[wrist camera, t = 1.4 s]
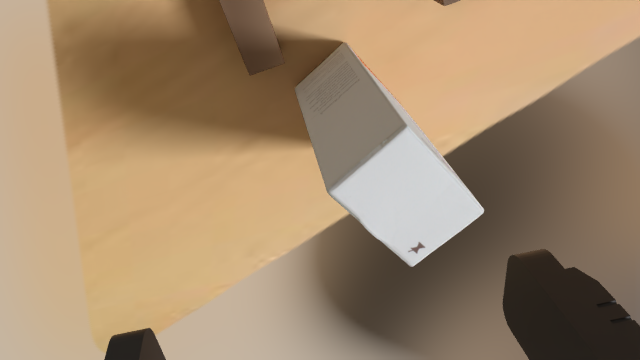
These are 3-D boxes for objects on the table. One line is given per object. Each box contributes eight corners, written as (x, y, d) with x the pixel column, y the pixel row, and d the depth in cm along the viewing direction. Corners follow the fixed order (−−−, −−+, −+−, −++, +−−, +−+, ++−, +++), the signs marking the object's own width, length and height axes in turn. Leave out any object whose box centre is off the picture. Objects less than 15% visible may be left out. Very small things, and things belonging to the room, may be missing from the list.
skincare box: (404, 105, 31) (490, 214, 20) (353, 148, 32) (411, 272, 22) (343, 36, 28) (409, 123, 18) (290, 86, 29) (322, 196, 19)
